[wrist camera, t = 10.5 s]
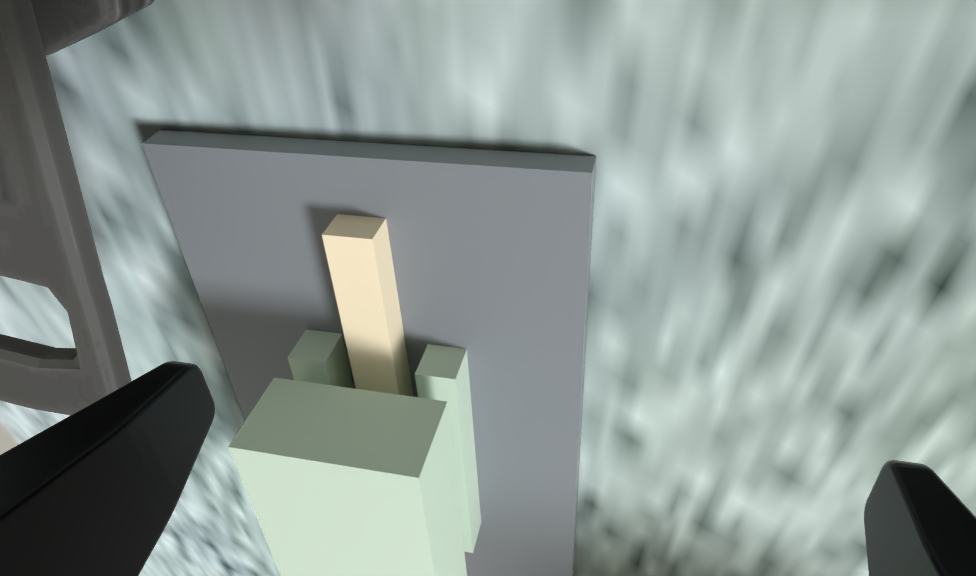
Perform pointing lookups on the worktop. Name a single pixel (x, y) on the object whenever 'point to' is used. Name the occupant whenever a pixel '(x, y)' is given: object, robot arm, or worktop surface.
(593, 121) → the worktop surface
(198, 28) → the worktop surface
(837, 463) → the worktop surface
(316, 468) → the cabinet block
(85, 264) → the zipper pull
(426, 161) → the cleat board
